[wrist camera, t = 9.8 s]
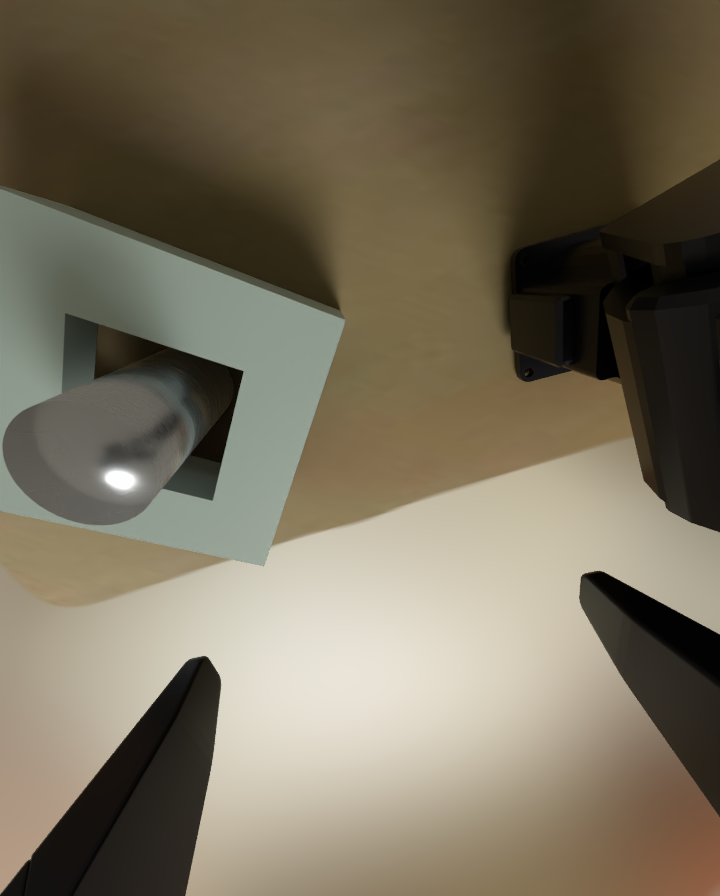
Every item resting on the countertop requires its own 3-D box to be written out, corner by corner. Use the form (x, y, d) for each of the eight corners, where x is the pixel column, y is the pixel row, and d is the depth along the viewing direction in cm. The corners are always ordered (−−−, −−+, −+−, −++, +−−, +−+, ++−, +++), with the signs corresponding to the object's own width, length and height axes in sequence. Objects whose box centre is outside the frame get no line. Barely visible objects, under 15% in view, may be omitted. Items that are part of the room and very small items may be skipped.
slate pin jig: (340, 310, 17) (345, 320, 13) (276, 507, 22) (264, 566, 17) (67, 205, 15) (-47, 171, 10) (57, 453, 19) (-25, 505, 15)
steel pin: (213, 334, 17) (109, 384, 9) (245, 409, 19) (181, 507, 11) (136, 356, 17) (-33, 423, 9) (174, 428, 19) (60, 538, 11)
